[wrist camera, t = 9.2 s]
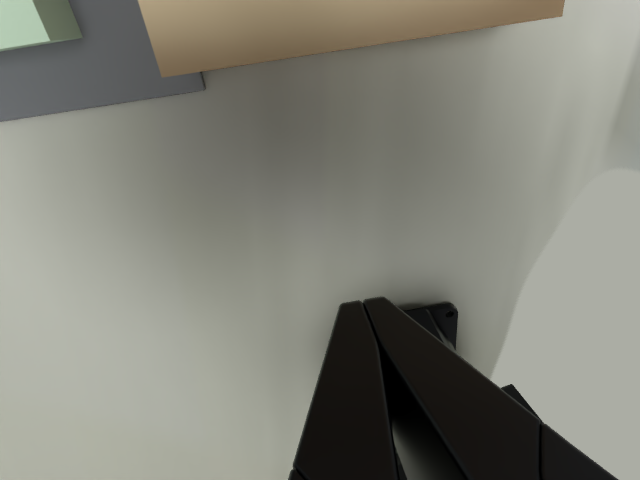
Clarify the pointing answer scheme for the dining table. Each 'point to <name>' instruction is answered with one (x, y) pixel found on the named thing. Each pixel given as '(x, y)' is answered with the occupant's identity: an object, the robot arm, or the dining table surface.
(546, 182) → the dining table surface
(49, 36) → the sage green tile
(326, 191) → the dining table surface
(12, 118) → the mat
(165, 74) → the deck
